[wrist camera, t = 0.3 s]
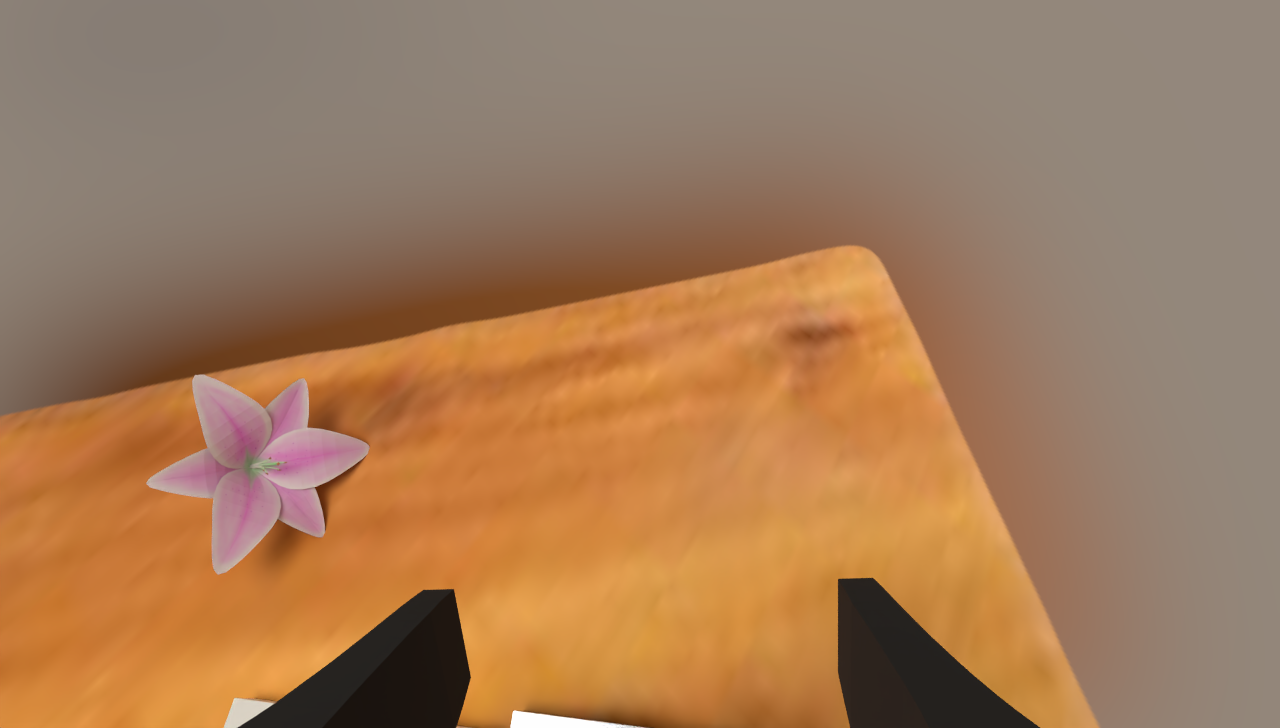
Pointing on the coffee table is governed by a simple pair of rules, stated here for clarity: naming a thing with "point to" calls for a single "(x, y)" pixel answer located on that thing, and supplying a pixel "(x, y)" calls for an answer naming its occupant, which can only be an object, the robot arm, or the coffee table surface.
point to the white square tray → (250, 711)
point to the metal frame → (560, 721)
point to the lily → (258, 466)
